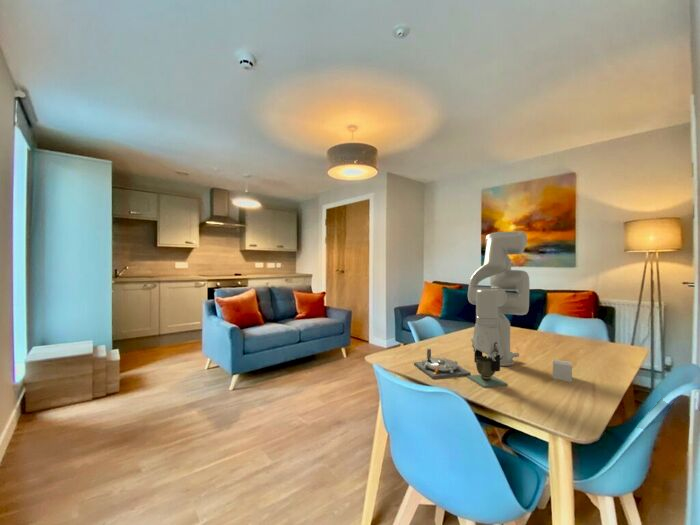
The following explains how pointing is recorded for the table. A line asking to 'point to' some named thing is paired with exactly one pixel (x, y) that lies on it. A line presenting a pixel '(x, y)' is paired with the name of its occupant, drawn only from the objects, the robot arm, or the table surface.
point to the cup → (484, 367)
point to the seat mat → (486, 381)
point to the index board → (441, 374)
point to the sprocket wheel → (440, 364)
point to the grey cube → (562, 370)
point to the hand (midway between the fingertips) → (486, 366)
